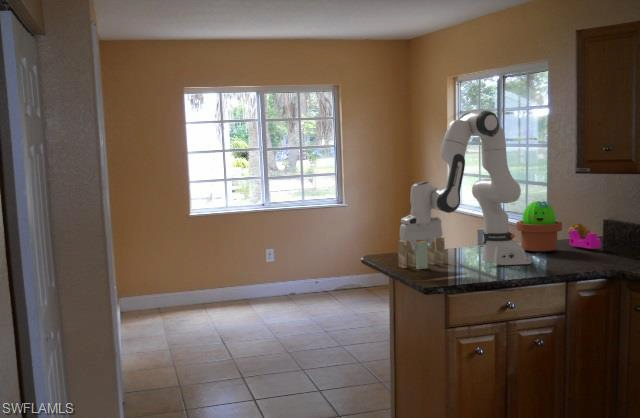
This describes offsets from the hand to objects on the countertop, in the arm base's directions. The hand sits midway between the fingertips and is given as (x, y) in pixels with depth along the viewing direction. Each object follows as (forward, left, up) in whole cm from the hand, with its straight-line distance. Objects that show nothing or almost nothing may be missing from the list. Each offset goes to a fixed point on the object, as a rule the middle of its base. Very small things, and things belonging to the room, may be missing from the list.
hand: (421, 249), depth 296 cm
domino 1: (+4, -6, -9) cm, 12 cm away
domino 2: (-5, -11, -9) cm, 15 cm away
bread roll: (-90, -92, -9) cm, 129 cm away
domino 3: (-9, -14, -9) cm, 19 cm away
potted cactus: (-60, -49, -9) cm, 78 cm away
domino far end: (+8, -4, -9) cm, 13 cm away
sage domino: (0, 0, -9) cm, 9 cm away
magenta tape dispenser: (-84, -57, -9) cm, 102 cm away
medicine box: (-35, -64, -9) cm, 74 cm away
